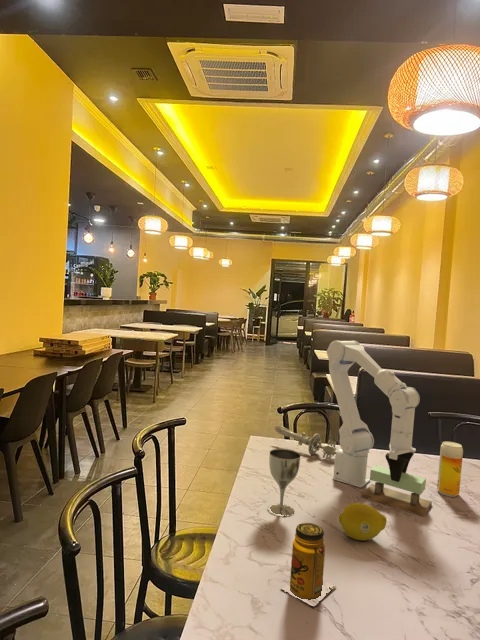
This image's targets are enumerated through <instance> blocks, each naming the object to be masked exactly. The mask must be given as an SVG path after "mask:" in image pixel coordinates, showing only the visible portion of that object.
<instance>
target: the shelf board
mask: <svg viewBox="0 0 480 640" xmlns="http://www.w3.org/2000/svg"><path fill="white" fill-rule="evenodd" d="M369 479H370V481H373V482H379V483H382V484H384V485H386V486H390V487H393V488H396V489H400V490H403V491H406V492H410V493H417V494H420V496H421V495H422V494H423V493H424V491H425V490H426V482H427V478H425V477H421V476H419V475H414V474H410V473H407V472H406V473H403V472H402V474H401V478H400V481H399V482H396V481H393V480H391V476H390V469H389V467H385V466H381V465H378V464H377V465H376V464H375V465H374V466H373V467H372V468H370V473H369Z"/></svg>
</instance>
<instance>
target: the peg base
mask: <svg viewBox="0 0 480 640" xmlns="http://www.w3.org/2000/svg"><path fill="white" fill-rule="evenodd" d="M384 486H385V484H382V483H379V482H376V481H374V483H371V485H369V486H368V487H367V488H366V489H365V490H364V491H363V492H362V493H361V495H360V496H361V497H362V498H365V499H368V500H370V501H374V502H376V503H381V504H383V505H387V506H390V507H393V508H396V509H399V510H403V511H405V512H409V513H412V514H415V515H417V516H421V517H424V516H426V514H427V513H428V511H429V510H430V508H431V507H432V503H433V502H432V501H431V500H427V499H425V498H421V497H420V496H421V495H420V494H417V493H413V492H410V494H408V493H404V492H401V491H397V490H395V489H391V488H389V487H384Z"/></svg>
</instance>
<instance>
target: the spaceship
mask: <svg viewBox="0 0 480 640" xmlns="http://www.w3.org/2000/svg"><path fill="white" fill-rule="evenodd" d="M274 430H275V432H276V433H277V434H278V435H281V436H283V437H286V438H287V437H290V438H293V439H294V440H295V441H296V442H298V443H297V444H298V445H299V446H302V445H305V446H308V453H309V455H311V456H313V455H315V454H316V453H317V452H318V451H319V450H320V449H322V450H321V452H323V454H322V459H325V460H328V462H330V461H331V459H332V457H335V456H336V453H337V451H338V449H337V447H336V445H337V442H336V441H333V440H331V439H328V442H327V443H323V445H322V440H321V439H322V438H321V437H322V436H321V434H320V433H315V434H314V435H313V436H312V437H309V436H306V435H307V434H306V433H305V432H304V431H303V432H301V433H300V432H299V433H296V432H292V431H291V430H290V429H289V428H287V427H284V426H282V425H276V426H274Z"/></svg>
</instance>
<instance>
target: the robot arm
mask: <svg viewBox="0 0 480 640" xmlns="http://www.w3.org/2000/svg"><path fill="white" fill-rule="evenodd" d="M326 355H327V358H328V370H329V375H330V379H331V383H332V386H333V390H334V393H335V397H336V398H335V399H336V401H337V404H338V409H339V412H340V416H341V420H342V425H341V426H340V427H339V430H338V434H339V446H340V448H339V449H337V450H336V451H337V453H336V454H335V456H334V465H333V477H332V480H334V481H338V482H341V483H345V484H347V485H350V486H354V487H357V488H360V489H361V488H363V487H364V486H366V485H367V484H368V483H369V482H370V481H371V480H370V477H369V478H368V477H367V469H368V455H369V453H370V450H371V449H373V447H374V444H375V439H374V436H373V434H372V432H370V429H369V427H368V424H367V423H365V422H364V421H363V420H362V419H361V415H360V413H359V410H358V406H357V402H356V398H355V395H354V392H353V388H352V385H351V381H350V377H349V373H348V372H349V369H350V368H351V367H352V366H353V365H354V364H355V363H357V364H358V365H359V366H360V367H361V368H362V369H363V370H364V371H366V372H367V373H368V374H369V375H370V376H371V377H373V378H374V381H373V383H374V384H375V385H376V386H377V387H378V389H380V390H381V392H383V394H384V395H386V396H387V397H388V399H389V404H390V406H391V413H392V416H391V417H392V419H391V428H390V429H391V430H390V440H389V441H390V442H389V443H388V444H389V445H388V447H389V448H388V449H389V451H388V452H387V453H385V459H386V461H387V464H388V468H389V469H390V476H391V480H393V481H396V482H399V481H400V478H401V474H402V472H403V473H407V470H408V467H409V463H410V462H411V459H412V458H413V456H414V454H415V453H416V451H417V449H416V448H415V447H413V446H412V445H413V435H414V425H415V424H414V421H415V413H416V411H415V410H416V408H417V407H418V406H419V404H420V400H421V399H420V398H421V396H420V394H419V392H418V391H417V390H416V388H415V387H411V386H407V384H406V383H405V382H402V381H401V379H399V378H398V377H397V376H396V375H395V372H394V371H393V370H389V369H382V367H381V366H380V365H379V364H378V363H377V362H376V361H375V360H374V359H373V358H372V357H371V355H370V354H369V353H367V351H365V347H364V346H363V345H362V344H360V342H358V341H357V340H333V341H331V342H330V344H329V345H328V348H327V349H326Z"/></svg>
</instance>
